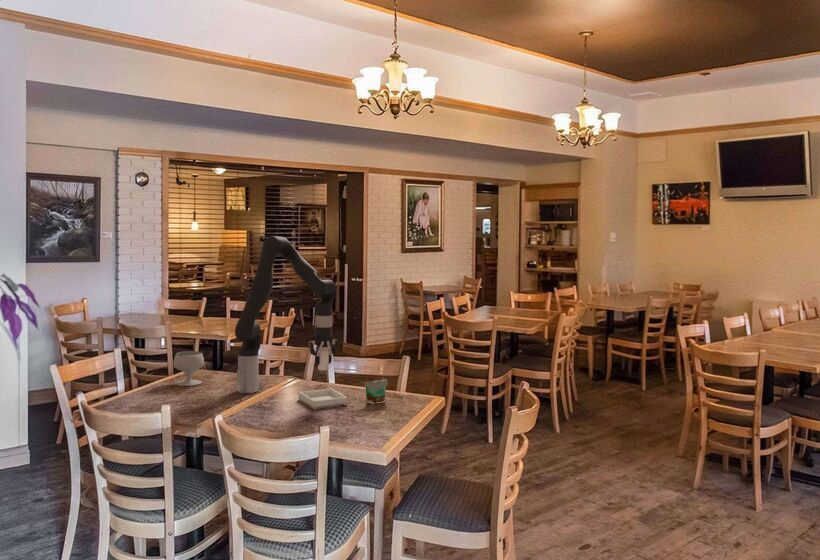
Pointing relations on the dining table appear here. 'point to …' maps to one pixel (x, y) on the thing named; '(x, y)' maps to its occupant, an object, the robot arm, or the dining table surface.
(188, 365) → the chalice
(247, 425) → the dining table surface
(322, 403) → the tray
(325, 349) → the salt shaker
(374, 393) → the food container
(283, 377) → the dining table surface
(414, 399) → the dining table surface
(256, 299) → the robot arm
